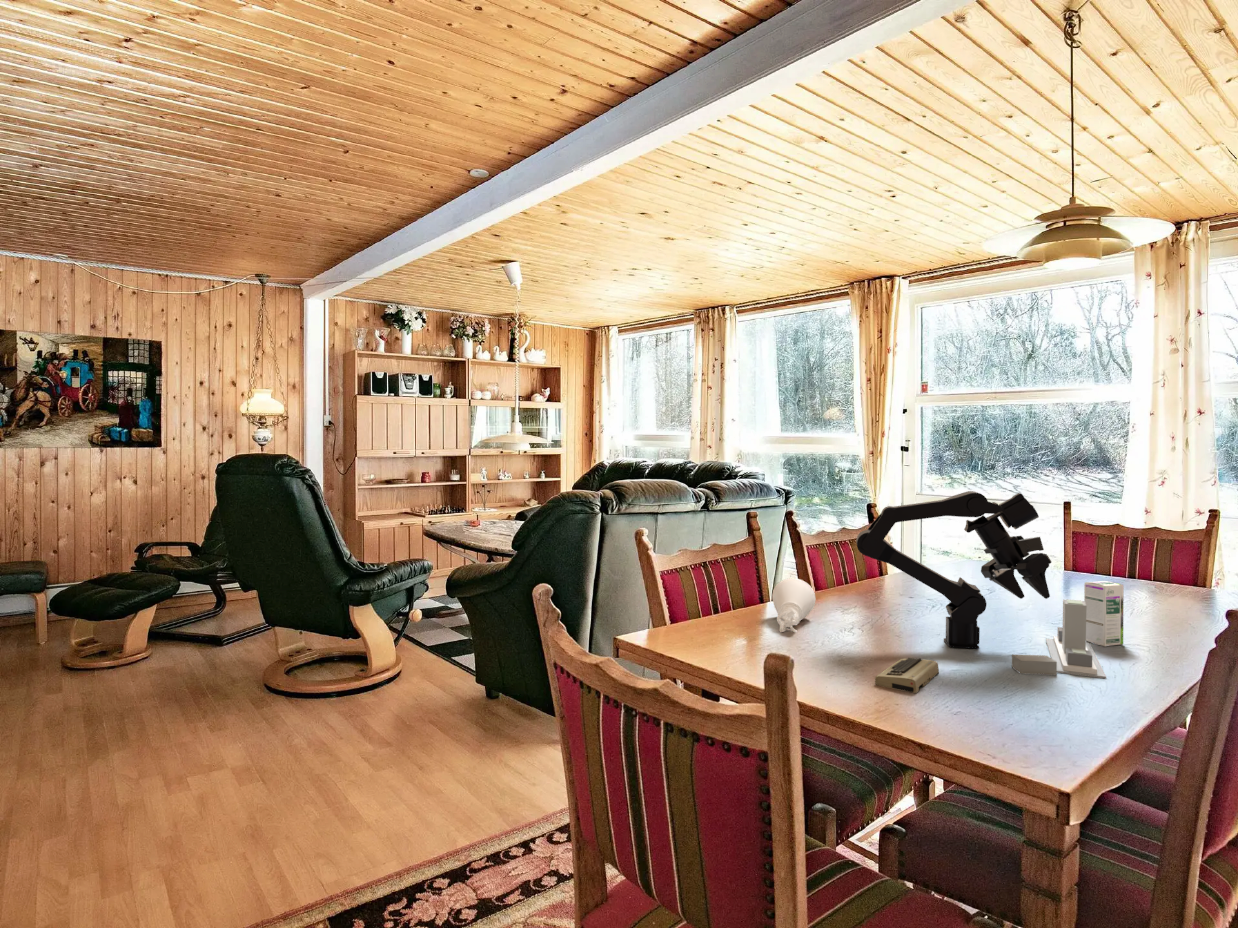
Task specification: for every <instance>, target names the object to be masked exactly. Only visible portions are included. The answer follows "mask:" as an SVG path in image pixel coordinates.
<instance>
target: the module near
mask: <svg viewBox="0 0 1238 928" xmlns="http://www.w3.org/2000/svg"><path fill="white" fill-rule="evenodd" d="M1066 662H1067V665H1074V666H1082V667H1091V668H1092V654H1091V652H1090V651H1087V650H1083V649H1073V648H1072V649H1069V648H1066Z"/></svg>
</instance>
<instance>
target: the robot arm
mask: <svg viewBox="0 0 1238 928" xmlns="http://www.w3.org/2000/svg"><path fill="white" fill-rule="evenodd" d="M985 514H988V515H989V514H991V515H990V516H987V517H986V516H985ZM939 517H959V518H976V519H974V520H969V519H967V520H965V527H964V529H963V530H964V532H966V533H968V534H969V533H972V532H973V531H975V533H976V534H977V535H978V537H979V538H980V541H982V544H983V545H984V546H985V549H984V550H983V551H984V553H985V554H986V555H987V554H990V556H991V557H992V559H991V560H989V561H987V562H986V563H984V564H983V565H982V566H981V568H980V573H981V574H982V575H983V578H985V579H989V581H991V582H994V583H995V584H997V585H999V586H1000V587H1002V588H1003V589H1004V590H1006V591H1008V592H1009V593H1011V594H1012V595H1014V596H1016V597H1017V598H1019V599H1020V600H1021V599H1023V598H1025V594H1024V592H1023V589H1022V588H1021V586H1020V585H1019V583H1018V581H1017V579H1016V577H1015V570H1016V571H1017V572H1018V574H1019V575H1021V576H1022V577H1021V579H1022V580H1023V581H1024V582H1025V583H1027V584H1028V585H1029V586H1030V587H1031V588H1032V589H1034V590H1035V592H1037V593H1038V594H1039V595H1040V596H1041V597H1042V598H1043V599H1045V600H1047V599H1049V598H1050V597H1051V594H1050V590H1049V587H1048V583H1047V579H1046V577H1047V576H1046V572H1047V569H1048V568H1049V567H1050V564H1051V563H1052V559H1051V558H1050V557H1049V555H1048V554H1047V553H1043V552H1041V551H1044V546H1043V542H1042V538H1041V536H1035V537H1029V538H1028V537H1027V538H1024V537H1023V536H1022V535H1016V536H1015V535H1014V536H1013V535H1011V536H1010V534H1009V533H1008V531H1007V529H1010V528H1013V529H1014V530H1017V529H1019V528H1021V527H1023V526H1025V525H1027V524H1029V523H1031V522H1032V521H1035V520H1037V519H1038V518H1039V514H1038V511H1037V510H1036V508H1035V507H1034V505H1032V504H1031V503H1030V502H1029V500H1028V499H1027V498H1025V496H1024V495H1023V493H1020V492H1017V493H1015V494H1014V495H1013V496H1012V497H1010V498H1009V499H1006V500H1005V501H1003V502H1001V503H999V504H998V503H997V502H995V501H992V502H990V501H988V499H987V498H986V496H985V495H983V494H982V493H981V492H978V491H974V490H968V491H964V492H960V493H958V494H955V495H952V496H950V497H946V498H943V499H939V500H932V501H924V502H916V503H910V504H903V505H894V506H892V505H887V506H885V507H884V508H883V509H882V511H881V513H879V515H878V516H877V517H876V518H875V519H874V521H872V523H870V525H869V527H868V528H867V529H865V530H864V529H863V530H862V531H861V532H859V533H858V534H857V536H856V537H855V538H856V540H855V541H856V542H855V543H856V547H857V551H859V552H860V553H861V555H863V556H866V557H868V558H871V559H874V560H876V561H879V562H881V563H882V562H883V563H886V564H889V565H891V566H892V567H895V568H896V569H898V570H899V571H900V572H903V573H905V574H907V575H909V576H910V577H911V578H913V579H915V580H917V581H919V582H921V583H922V584H924V585H926V586H928V588H930V589H933V590H934V591H935V592H937V593H940V594H941V595H942V596H944V597H945V598H946V599H947V600H948V601H949V602H948V604H946V606H945V608H946V612H947V614H948V615H949V616H945V637H944V638H943V641H944V643H945V644H946V645H947V646H948V647H949V648H959V649H960V648H961V649H977V650H978V649H980V646H979V645H980V632H981V631H980V626H979V625H978V618H979V616H980V615H982V614H983V613H984V612H985V611H986V608H987V601H986V598H985V596H984V595H983V594H982V593H981V590H980V589H979V588H978V587H977V585H976V584H971V583H968V582H967V581H966V580H965V579H964V578H962V577H961V576H960V577H958V580H957V581H956V580H952V579H949V578H948V577H945V576H943V575H942V574H941V573H939V572H936V571H935V570H933V569H931V568H929V567H928V566H926V565H924V564H923V563H921V562H919V561H917V560H915V559H914V558H912V557H910V556H908V555H907V554H905V553H904V552H901V550H898V549H896V548H895V547H894V546H893V545H892V544H891V543H889V542H888V541H887V540H886V539H885V538H886V537H887V536H888V534H889V533H890V531H891V530H892V528H893V527H894V526H895V524H896V523H901V522H909V521H910V522H911V521H917V520H924V519H933V518H939ZM999 517H1000V519H1001V520H1000V519H999ZM1002 523H1003V524H1004V525H1003V524H1002ZM1004 526H1006V527H1007V529H1006V528H1005V527H1004ZM1036 551H1040V552H1037V553H1032V552H1036ZM1030 552H1031V554H1030Z"/></svg>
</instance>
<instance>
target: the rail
mask: <svg viewBox="0 0 1238 928" xmlns="http://www.w3.org/2000/svg"><path fill="white" fill-rule="evenodd" d="M1045 643H1046V644H1047V645H1046V646H1047V649H1048V653H1049V657H1050V658H1051V659H1053V660H1055V661H1056V662H1057V673H1058V674H1066V675H1073V676H1082V677H1091V678H1097V679H1099V678H1100V679H1107V675H1106V673H1105V671H1104V669H1103V667H1102V665H1101V663H1100V661H1099V659H1098V658H1097V654H1096V653H1095V651H1094V648H1093V647H1092V644H1091V642H1086V650H1087V651H1090V652H1091V654H1092V668H1091V667H1082V666H1074V665H1067V662H1066V653H1064V651H1063V649H1062V642H1059V641H1058V638H1057V635H1056V636H1055V635H1053V637H1052V638H1045Z"/></svg>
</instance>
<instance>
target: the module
mask: <svg viewBox="0 0 1238 928" xmlns="http://www.w3.org/2000/svg"><path fill="white" fill-rule="evenodd" d="M1086 608H1087V606H1086V604H1085V602H1084V600H1078V599H1068V598H1067V599H1063V600H1062V628H1063V629H1062V649H1063V651H1064V653H1066V648H1069V649H1072V648H1073V649H1083V650H1086V643H1087V641H1086Z"/></svg>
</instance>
